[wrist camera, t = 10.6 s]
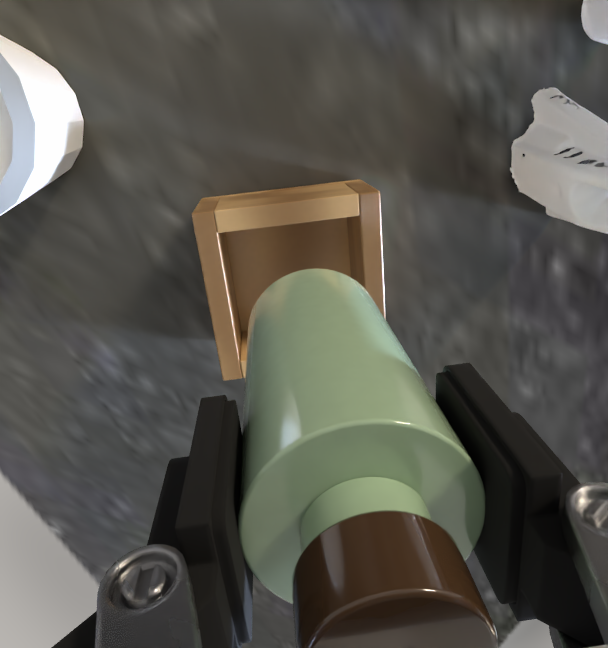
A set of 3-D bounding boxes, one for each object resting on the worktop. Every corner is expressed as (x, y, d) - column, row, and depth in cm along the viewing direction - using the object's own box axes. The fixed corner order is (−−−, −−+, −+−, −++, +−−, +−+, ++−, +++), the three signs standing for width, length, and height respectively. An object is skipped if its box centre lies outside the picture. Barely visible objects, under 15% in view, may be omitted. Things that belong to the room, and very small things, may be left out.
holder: (227, 343, 27) (223, 381, 23) (201, 198, 24) (191, 213, 20) (369, 324, 27) (387, 359, 23) (360, 178, 24) (380, 190, 20)
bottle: (257, 397, 18) (256, 787, 8) (238, 276, 16) (200, 568, 6) (382, 380, 18) (549, 740, 8) (376, 259, 17) (582, 513, 6)
